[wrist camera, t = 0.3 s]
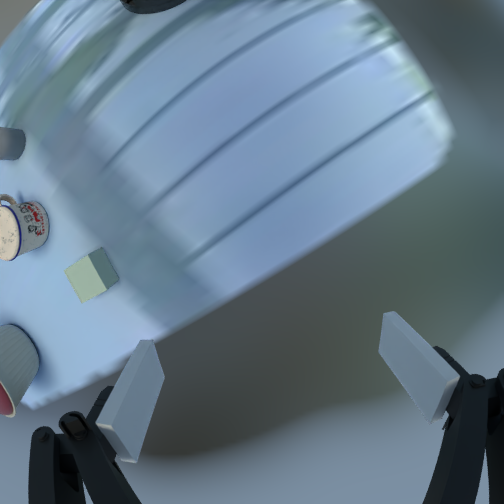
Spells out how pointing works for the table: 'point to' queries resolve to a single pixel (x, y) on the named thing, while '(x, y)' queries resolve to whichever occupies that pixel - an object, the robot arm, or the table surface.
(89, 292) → the sage green block
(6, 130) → the grey rounded piece
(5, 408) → the canister
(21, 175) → the table surface
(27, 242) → the teacup with lid
